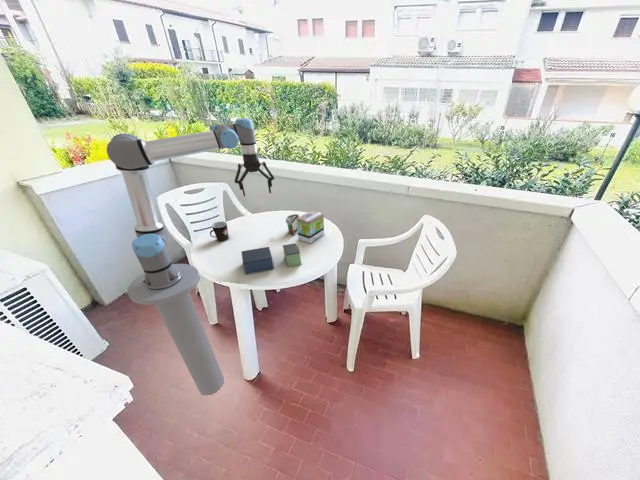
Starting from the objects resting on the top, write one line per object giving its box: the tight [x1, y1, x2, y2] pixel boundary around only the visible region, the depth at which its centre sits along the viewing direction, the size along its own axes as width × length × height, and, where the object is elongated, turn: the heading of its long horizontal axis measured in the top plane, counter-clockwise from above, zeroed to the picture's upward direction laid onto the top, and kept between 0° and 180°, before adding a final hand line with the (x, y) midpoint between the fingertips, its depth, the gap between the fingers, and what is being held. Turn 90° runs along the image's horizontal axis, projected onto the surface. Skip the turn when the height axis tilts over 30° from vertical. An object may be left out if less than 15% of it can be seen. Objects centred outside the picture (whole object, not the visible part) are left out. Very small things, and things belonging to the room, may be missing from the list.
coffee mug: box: [209, 221, 230, 242], centre depth 173 cm, size 12×9×10 cm
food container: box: [285, 213, 300, 236], centre depth 183 cm, size 12×6×10 cm, turn 168°
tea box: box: [297, 210, 325, 244], centre depth 176 cm, size 15×10×15 cm, turn 151°
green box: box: [282, 242, 302, 268], centre depth 154 cm, size 7×10×8 cm
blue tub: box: [240, 246, 274, 275], centre depth 150 cm, size 14×12×7 cm
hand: (257, 194), depth 154 cm, fingers open, 13 cm apart
